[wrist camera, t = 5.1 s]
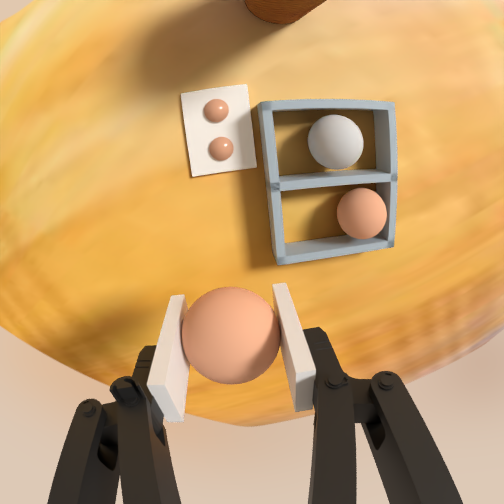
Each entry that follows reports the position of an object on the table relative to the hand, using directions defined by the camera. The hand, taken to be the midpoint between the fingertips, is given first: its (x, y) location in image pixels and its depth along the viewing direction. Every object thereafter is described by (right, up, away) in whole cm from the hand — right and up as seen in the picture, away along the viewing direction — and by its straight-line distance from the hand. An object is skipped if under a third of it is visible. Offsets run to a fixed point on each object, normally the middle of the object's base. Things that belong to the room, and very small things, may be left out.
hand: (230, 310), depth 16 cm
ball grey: (+8, +14, +9) cm, 19 cm away
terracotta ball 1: (0, 0, 0) cm, 0 cm away
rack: (+9, +11, +11) cm, 18 cm away
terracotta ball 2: (+12, +8, +12) cm, 19 cm away
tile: (-2, +14, +8) cm, 17 cm away
